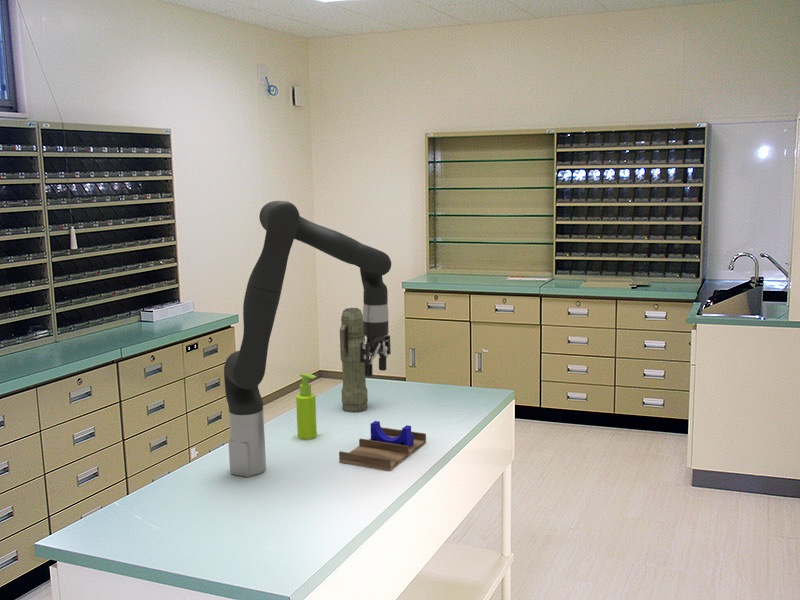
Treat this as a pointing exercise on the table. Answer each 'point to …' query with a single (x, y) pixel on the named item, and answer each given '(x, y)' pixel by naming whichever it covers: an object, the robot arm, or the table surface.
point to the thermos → (352, 361)
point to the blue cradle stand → (379, 435)
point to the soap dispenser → (306, 410)
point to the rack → (382, 451)
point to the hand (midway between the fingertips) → (375, 373)
